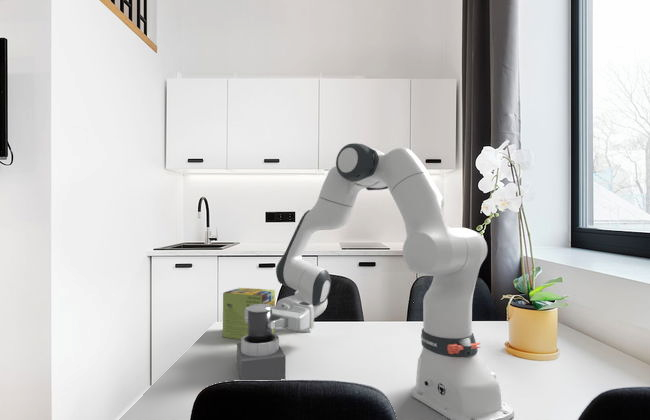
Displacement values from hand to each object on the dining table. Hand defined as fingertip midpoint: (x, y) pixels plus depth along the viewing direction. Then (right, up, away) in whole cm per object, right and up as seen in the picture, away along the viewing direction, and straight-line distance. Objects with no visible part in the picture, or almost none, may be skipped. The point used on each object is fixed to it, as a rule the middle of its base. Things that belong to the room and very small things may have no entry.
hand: (257, 323), depth 101 cm
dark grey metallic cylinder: (0, -6, +1) cm, 6 cm away
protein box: (-9, -14, +32) cm, 36 cm away
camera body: (0, -13, 0) cm, 13 cm away
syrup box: (+10, -14, +38) cm, 42 cm away
